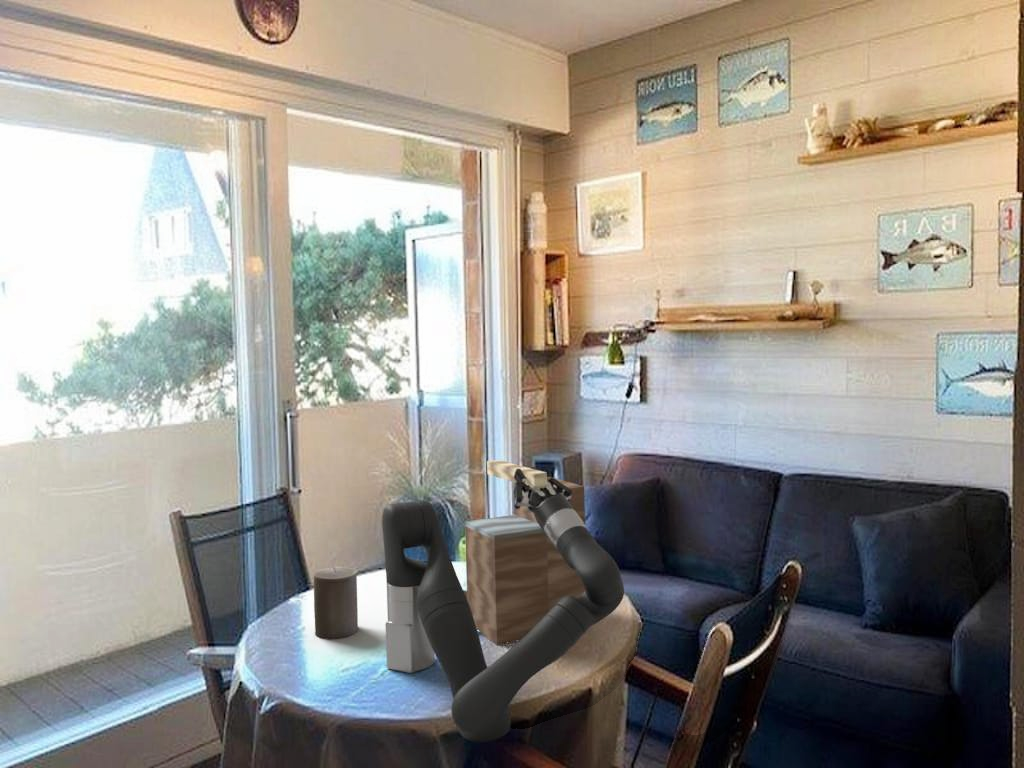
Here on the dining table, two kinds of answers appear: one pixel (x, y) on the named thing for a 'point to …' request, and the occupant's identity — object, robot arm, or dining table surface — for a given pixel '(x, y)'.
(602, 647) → the dining table surface
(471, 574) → the block
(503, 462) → the maple rod
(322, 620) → the pillar candle
